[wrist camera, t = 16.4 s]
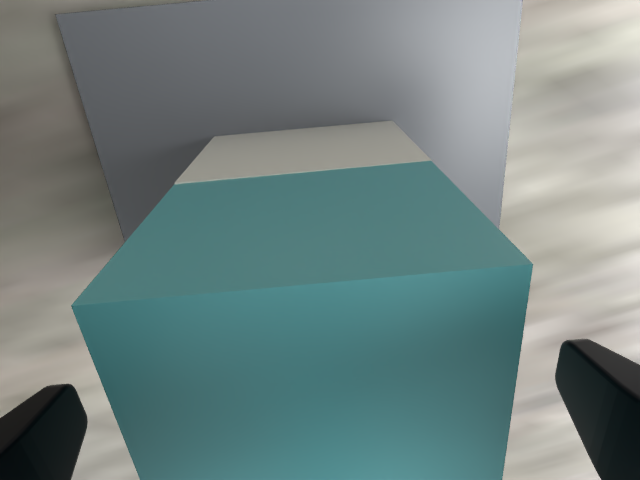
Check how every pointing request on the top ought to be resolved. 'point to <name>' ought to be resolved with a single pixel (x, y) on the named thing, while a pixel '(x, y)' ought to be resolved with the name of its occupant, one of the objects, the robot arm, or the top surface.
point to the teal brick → (312, 330)
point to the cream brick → (302, 151)
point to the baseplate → (293, 83)
